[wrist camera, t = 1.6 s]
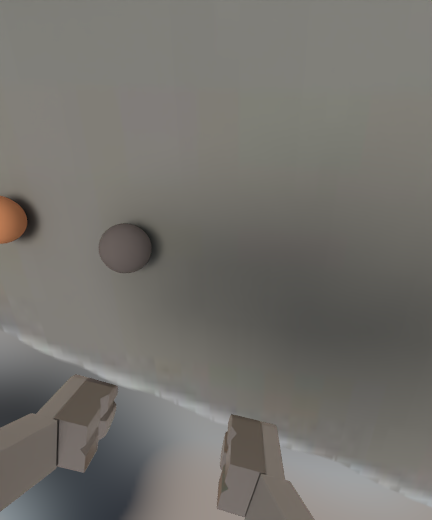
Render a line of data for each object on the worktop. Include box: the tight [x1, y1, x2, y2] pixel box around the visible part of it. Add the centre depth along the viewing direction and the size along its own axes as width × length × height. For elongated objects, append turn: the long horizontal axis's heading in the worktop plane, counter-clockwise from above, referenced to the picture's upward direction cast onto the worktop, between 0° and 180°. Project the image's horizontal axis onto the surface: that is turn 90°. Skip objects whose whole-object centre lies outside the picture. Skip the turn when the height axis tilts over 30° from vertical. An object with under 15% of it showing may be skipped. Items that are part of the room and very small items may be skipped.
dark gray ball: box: [99, 224, 152, 273], centre depth 25 cm, size 5×5×5 cm
